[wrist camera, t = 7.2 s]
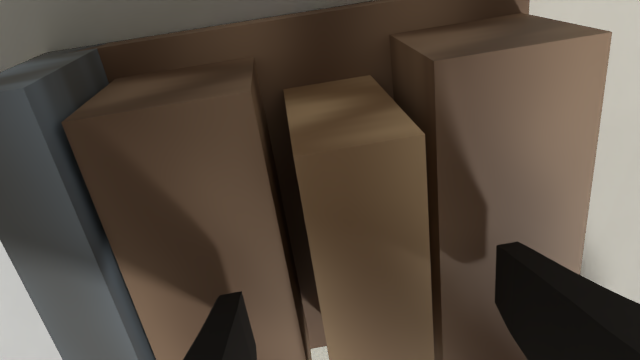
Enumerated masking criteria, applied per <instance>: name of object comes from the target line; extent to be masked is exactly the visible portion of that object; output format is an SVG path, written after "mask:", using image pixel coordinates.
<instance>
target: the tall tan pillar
mask: <svg viewBox="0 0 640 360" xmlns="http://www.w3.org/2000/svg"><path fill="white" fill-rule="evenodd" d="M283 91H284V98H285V105H286V111H287V118H288V125H289V131H290V138H291V144H292V151H293V158H294V163H295V169H296V174H297V180H298V186H299V191H300V197H301V203H302V208H303V214H304V219H305V225H306V231H307V236H308V242H309V248H310V253H311V259H312V265H313V270H314V276H315V281H316V287H317V293H318V298H319V304H320V310H321V315H322V321H323V326H324V332H325V338H326V343H327V349H328V355H329V360H434V337H433V313H432V289H431V265H430V242H429V218H428V194H427V170H426V146H425V134H424V133H423V132H422V131H421V129H420V128H419V127H418V126H417V125H416V124H415V123H414V122H413V121H412V120H411V119H410V118H409V116H408V115H407V114H406V113H405V112H404V111H403V110H402V109H401V108H400V107H399V106H398V105H397V103H396V102H395V101H394V100H393V99H392V98H391V97H390V96H389V95H388V94H387V93H386V91H385V90H384V89H383V88H382V87H381V86H380V85H379V84H378V83H377V82H376V81H375V80H374V78H373V77H372V76H371V75H367V76H361V77H355V78H349V79H343V80H337V81H331V82H325V83H319V84H312V85H306V86H300V87H294V88H288V89H283Z"/></svg>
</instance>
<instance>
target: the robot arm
mask: <svg viewBox="0 0 640 360" xmlns="http://www.w3.org/2000/svg"><path fill="white" fill-rule="evenodd" d="M495 304H496V306H497V308H498V310H499V312H500V314H501V316H502V319H503V321H504V322H505V324H506V326H507V328H508V330H509V332H510V334H511V335H512V337H513V339H514V340H515V342H516V343H517V345H518V346H519V348H520V349H521V351H522V352H523V354H524V355H525V357H526V358H527V359H528V360H640V304H638V303H636V302H634V301H632V300H629V299H627V298H625V297H623V296H621V295H619V294H617V293H614V292H612V291H610V290H608V289H606V288H604V287H602V286H600V285H598V284H596V283H594V282H592V281H590V280H588V279H586V278H584V277H582V276H581V275H579V274H577V273H575V272H573V271H571V270H569V269H568V268H566V267H564V266H562V265H560V264H558V263H557V262H555V261H553V260H551V259H549V258H548V257H546V256H544V255H542V254H540V253H539V252H537V251H535V250H533V249H531V248H530V247H528V246H526V245H524V244H522V243H520V242H518V241H517V242H512V243H506V244H501V245H497V246H496V276H495ZM183 360H257V350H256V343H255V339H254V336H253V332H252V328H251V324H250V321H249V317H248V313H247V309H246V306H245V302H244V298H243V294H242V291H240V292H234V293H229V294H223V295H219V297H218V298H217V299H216V301H215V303H214V305H213V307H212V309H211V311H210V313H209V315H208V317H207V319H206V321H205V323H204V324H203V326H202V328H201V330H200V332H199V333H198V335H197V337H196V339H195V340H194V342H193V344H192V345H191V347H190V349H189V350H188V352H187V354H186V355H185V357H184V359H183Z"/></svg>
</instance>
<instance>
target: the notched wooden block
mask: <svg viewBox="0 0 640 360" xmlns="http://www.w3.org/2000/svg"><path fill="white" fill-rule="evenodd" d="M611 36H612V32H610V31H605V30H600V29H595V28H591V27H586V26H581V25H576V24H572V23H567V22H562V21H557V20H553V19H548V18H543V17H538V16H533V15H529V0H376V1H370V2H364V3H357V4H351V5H345V6H338V7H332V8H326V9H319V10H313V11H307V12H300V13H294V14H288V15H281V16H275V17H269V18H263V19H256V20H250V21H244V22H237V23H231V24H225V25H218V26H212V27H206V28H199V29H193V30H187V31H180V32H174V33H168V34H162V35H155V36H149V37H143V38H136V39H130V40H124V41H117V42H111V43H105V44H98V45H92V46H86V47H79V48H73V49H67V50H61V51H54V52H48V53H44V54H42V55H40V56H37V57H35V58H33V59H30V60H28V61H26V62H23V63H21V64H19V65H16V66H14V67H12V68H10V69H7V70H5V71H3V72H0V240H1V242H2V244H3V246H4V248H5V250H6V252H7V254H8V256H9V257H10V259H11V261H12V263H13V265H14V267H15V269H16V271H17V273H18V275H19V277H20V279H21V280H22V282H23V284H24V286H25V288H26V290H27V292H28V294H29V296H30V298H31V300H32V302H33V304H34V305H35V307H36V309H37V311H38V313H39V315H40V317H41V319H42V321H43V323H44V325H45V327H46V328H47V330H48V332H49V334H50V336H51V338H52V340H53V342H54V344H55V346H56V348H57V350H58V351H59V353H60V355H61V357H62V359H63V360H183V359H184V357H185V355H186V354H187V352H188V350H189V349H190V347H191V345H192V344H193V342H194V340H195V339H196V337H197V335H198V333H199V332H200V330H201V328H202V326H203V324H204V323H205V321H206V319H207V317H208V315H209V313H210V311H211V309H212V307H213V305H214V303H215V301H216V299H217V298H218V297H219V295H223V294H229V293H234V292H240V291H242V294H243V298H244V302H245V306H246V309H247V313H248V317H249V321H250V324H251V328H252V332H253V336H254V339H255V343H256V350H257V360H312V359H311V350H310V349H312V348H317V347H323V346H327V343H326V338H325V332H324V326H323V321H322V315H321V310H320V304H319V298H318V293H317V287H316V281H315V276H314V270H313V265H312V259H311V253H310V248H309V242H308V236H307V231H306V225H305V219H304V214H303V208H302V203H301V197H300V191H299V186H298V180H297V174H296V169H295V163H294V158H293V151H292V144H291V138H290V131H289V125H288V118H287V111H286V105H285V98H284V91H283V89H288V88H294V87H300V86H306V85H312V84H319V83H325V82H331V81H337V80H343V79H349V78H355V77H361V76H367V75H371V76H372V77H373V78H374V80H375V81H376V82H377V83H378V84H379V85H380V86H381V87H382V88H383V89H384V90H385V91H386V93H387V94H388V95H389V96H390V97H391V98H392V99H393V100H394V101H395V102H396V103H397V105H398V106H399V107H400V108H401V109H402V110H403V111H404V112H405V113H406V114H407V115H408V116H409V118H410V119H411V120H412V121H413V122H414V123H415V124H416V125H417V126H418V127H419V128H420V129H421V131H422V132H423V133H424V134H425V146H426V170H427V194H428V218H429V242H430V265H431V289H432V313H433V337H434V360H528V359H527V358H526V357H525V355H524V354H523V352H522V351H521V349H520V348H519V346H518V345H517V343H516V342H515V340H514V339H513V337H512V335H511V334H510V332H509V330H508V328H507V326H506V324H505V322H504V321H503V319H502V316H501V314H500V312H499V310H498V308H497V306H496V304H495V276H496V246H497V245H501V244H506V243H512V242H517V241H518V242H520V243H522V244H524V245H526V246H528V247H530V248H531V249H533V250H535V251H537V252H539V253H540V254H542V255H544V256H546V257H548V258H549V259H551V260H553V261H555V262H557V263H558V264H560V265H562V266H564V267H566V268H568V269H569V270H571V271H573V272H575V273H577V274H579V275H580V270H581V263H582V255H583V248H584V240H585V233H586V225H587V217H588V210H589V202H590V195H591V187H592V180H593V172H594V165H595V157H596V149H597V142H598V134H599V127H600V119H601V112H602V104H603V96H604V89H605V81H606V74H607V66H608V59H609V51H610V44H611Z"/></svg>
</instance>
